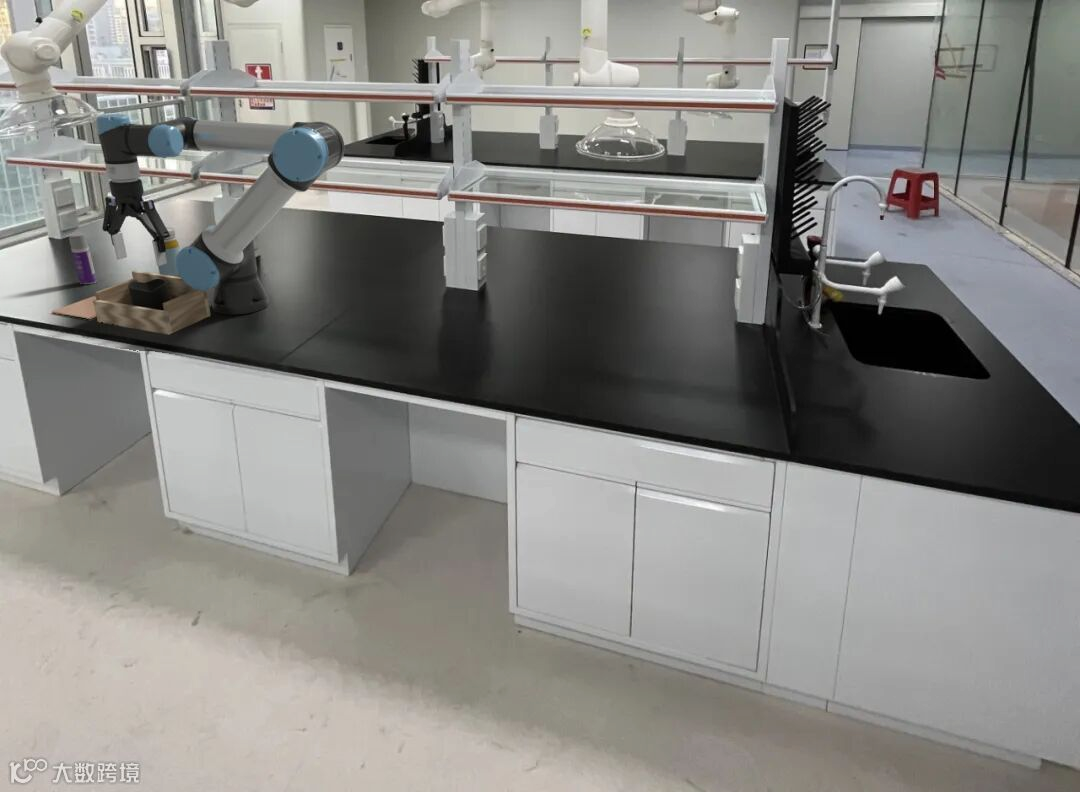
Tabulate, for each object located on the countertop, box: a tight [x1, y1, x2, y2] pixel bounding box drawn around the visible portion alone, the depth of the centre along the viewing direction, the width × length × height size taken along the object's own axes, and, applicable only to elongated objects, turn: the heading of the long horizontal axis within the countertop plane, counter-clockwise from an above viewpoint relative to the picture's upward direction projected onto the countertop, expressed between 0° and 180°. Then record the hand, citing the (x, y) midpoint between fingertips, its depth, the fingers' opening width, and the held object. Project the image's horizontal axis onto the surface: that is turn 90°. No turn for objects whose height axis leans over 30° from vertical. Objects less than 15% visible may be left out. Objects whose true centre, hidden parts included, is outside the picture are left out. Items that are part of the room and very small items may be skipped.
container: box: [68, 232, 98, 286], centre depth 244 cm, size 5×5×15 cm
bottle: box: [157, 226, 181, 277], centre depth 250 cm, size 7×7×15 cm
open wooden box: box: [93, 270, 212, 335], centre depth 217 cm, size 24×15×10 cm, turn 69°
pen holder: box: [128, 279, 170, 311], centre depth 217 cm, size 9×9×10 cm
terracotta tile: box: [51, 295, 97, 320], centre depth 226 cm, size 14×14×1 cm
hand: (141, 261), depth 212 cm, fingers open, 13 cm apart
